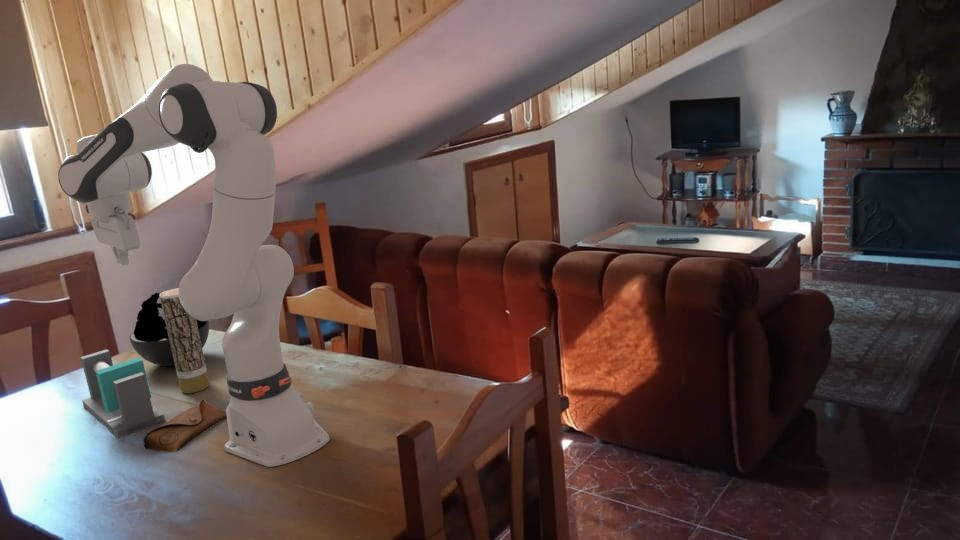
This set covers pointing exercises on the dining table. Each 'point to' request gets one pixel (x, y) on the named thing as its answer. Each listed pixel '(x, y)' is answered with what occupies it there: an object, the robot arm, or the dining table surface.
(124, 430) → the pipe stand
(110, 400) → the teal upright slab
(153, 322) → the bowl of black rocks
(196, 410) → the sunglasses case
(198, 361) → the log-textured cylinder
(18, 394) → the dining table surface
